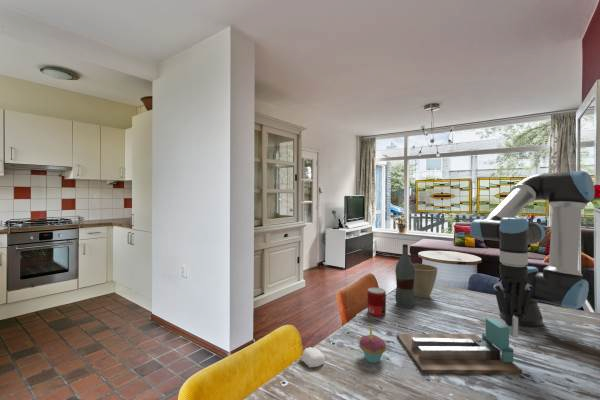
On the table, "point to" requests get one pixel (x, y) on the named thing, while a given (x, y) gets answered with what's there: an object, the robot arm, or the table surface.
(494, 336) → the teal upright slab
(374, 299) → the canned food
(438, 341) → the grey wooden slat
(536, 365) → the table surface
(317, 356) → the garlic
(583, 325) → the table surface
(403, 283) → the bottle
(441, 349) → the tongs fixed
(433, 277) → the plant pot
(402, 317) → the table surface
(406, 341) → the board
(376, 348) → the cupcake
